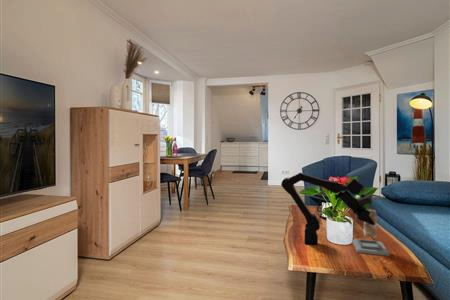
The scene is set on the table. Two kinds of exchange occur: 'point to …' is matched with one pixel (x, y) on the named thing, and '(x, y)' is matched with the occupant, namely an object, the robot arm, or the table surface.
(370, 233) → the birch block
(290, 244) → the table surface
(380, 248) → the baseplate
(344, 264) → the table surface
